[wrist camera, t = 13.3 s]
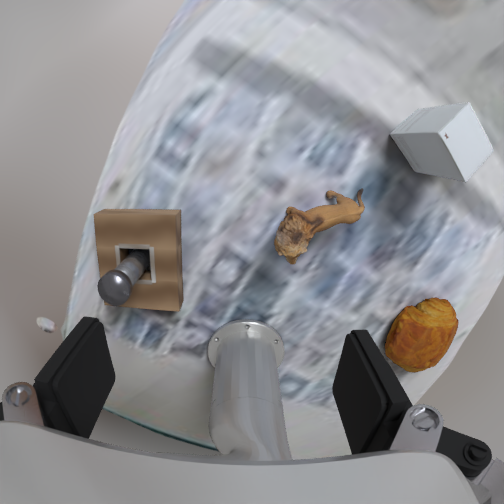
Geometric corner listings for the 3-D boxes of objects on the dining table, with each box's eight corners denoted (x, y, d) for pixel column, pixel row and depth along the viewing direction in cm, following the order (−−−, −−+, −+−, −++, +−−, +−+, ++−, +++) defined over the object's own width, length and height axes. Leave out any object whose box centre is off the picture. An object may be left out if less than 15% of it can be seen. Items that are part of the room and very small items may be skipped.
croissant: (451, 297, 50) (476, 311, 42) (420, 366, 53) (440, 386, 45) (400, 282, 48) (425, 297, 40) (367, 361, 51) (386, 384, 43)
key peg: (156, 268, 44) (130, 307, 33) (132, 267, 44) (100, 304, 33) (155, 243, 43) (126, 275, 31) (130, 242, 43) (95, 273, 31)
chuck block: (183, 300, 46) (179, 311, 42) (113, 294, 45) (104, 305, 42) (180, 209, 41) (175, 215, 38) (104, 209, 41) (93, 214, 37)
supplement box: (414, 173, 40) (465, 185, 28) (387, 133, 38) (436, 131, 26) (442, 146, 39) (495, 151, 27) (418, 107, 37) (469, 100, 25)
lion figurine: (280, 251, 44) (288, 276, 35) (262, 219, 42) (266, 237, 34) (368, 203, 42) (395, 217, 33) (353, 170, 40) (379, 177, 31)
